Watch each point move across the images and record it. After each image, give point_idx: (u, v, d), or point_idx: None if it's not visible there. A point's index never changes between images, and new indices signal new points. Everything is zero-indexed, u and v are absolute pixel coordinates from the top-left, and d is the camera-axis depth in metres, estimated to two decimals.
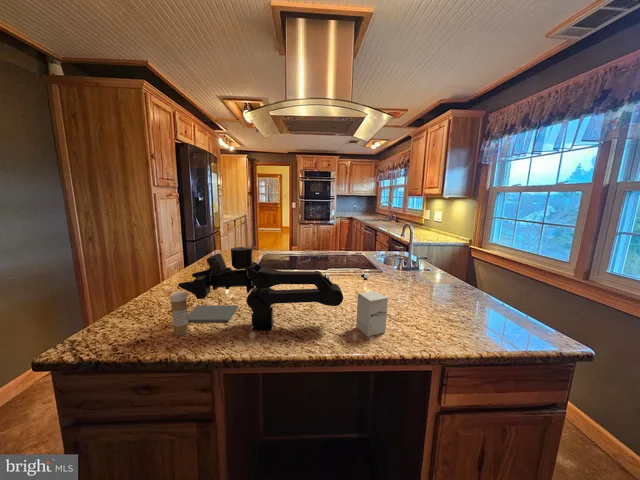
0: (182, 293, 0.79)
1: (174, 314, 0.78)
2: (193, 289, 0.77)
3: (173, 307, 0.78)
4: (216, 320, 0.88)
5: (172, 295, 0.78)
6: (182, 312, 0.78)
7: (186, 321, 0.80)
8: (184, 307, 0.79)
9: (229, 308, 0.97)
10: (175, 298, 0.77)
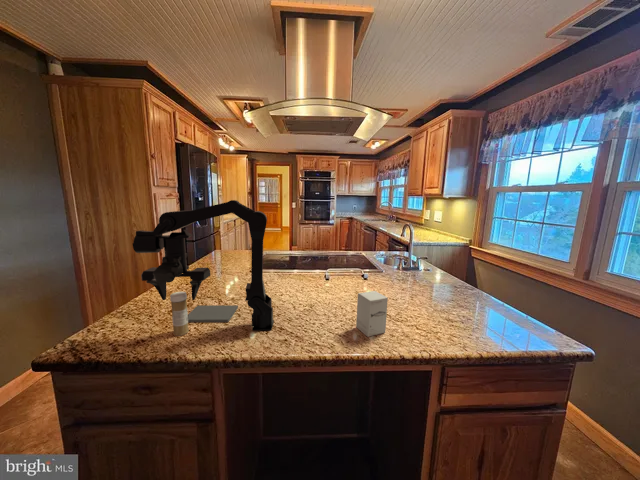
0: (182, 293, 0.79)
1: (174, 314, 0.78)
2: (198, 283, 0.80)
3: (173, 307, 0.78)
4: (216, 320, 0.88)
5: (172, 295, 0.78)
6: (182, 312, 0.78)
7: (186, 321, 0.80)
8: (184, 307, 0.79)
9: (229, 308, 0.97)
10: (175, 298, 0.77)
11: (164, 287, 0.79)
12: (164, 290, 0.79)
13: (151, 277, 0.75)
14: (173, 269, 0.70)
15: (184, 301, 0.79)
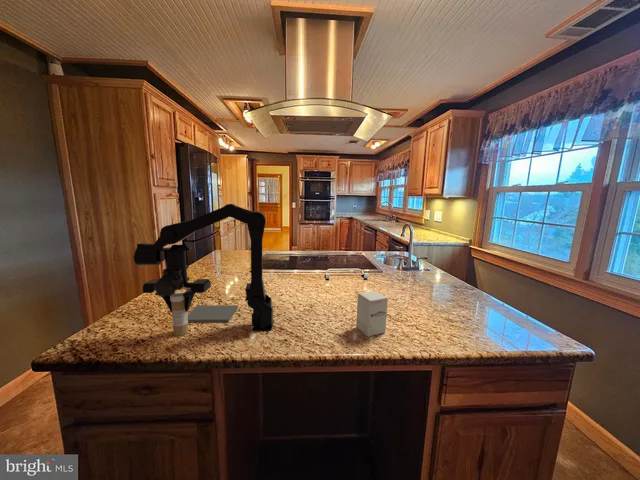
0: (182, 293, 0.79)
1: (174, 314, 0.78)
2: (192, 294, 0.80)
3: (173, 307, 0.78)
4: (216, 320, 0.88)
5: (172, 295, 0.78)
6: (182, 312, 0.78)
7: (186, 321, 0.80)
8: (184, 307, 0.79)
9: (229, 308, 0.97)
10: (175, 298, 0.77)
11: None
12: None
13: (152, 289, 0.75)
14: (174, 282, 0.71)
15: (184, 301, 0.79)
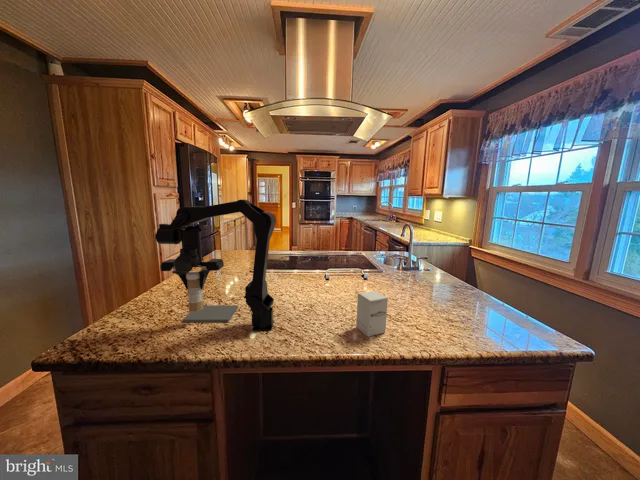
0: (197, 272, 0.85)
1: (190, 291, 0.83)
2: (206, 273, 0.86)
3: (189, 285, 0.83)
4: (216, 320, 0.88)
5: (188, 273, 0.83)
6: (197, 289, 0.84)
7: (201, 298, 0.86)
8: (199, 285, 0.84)
9: (229, 308, 0.97)
10: (191, 275, 0.82)
11: None
12: None
13: (170, 268, 0.80)
14: (191, 259, 0.76)
15: (199, 279, 0.84)
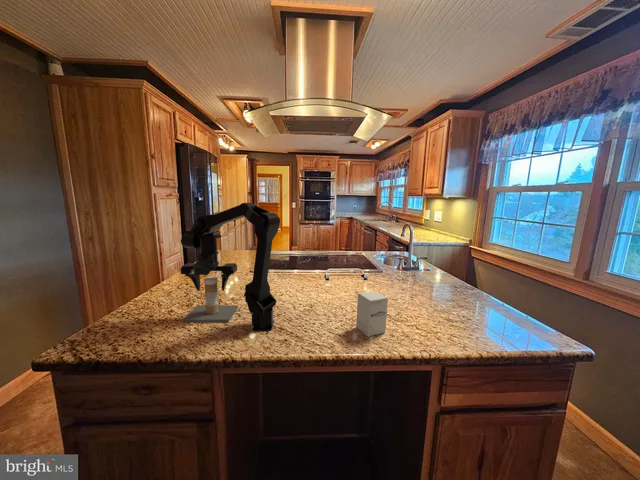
0: (214, 277, 0.92)
1: (207, 295, 0.91)
2: (227, 276, 0.93)
3: (207, 289, 0.91)
4: (216, 320, 0.88)
5: (206, 279, 0.91)
6: (214, 293, 0.91)
7: (217, 302, 0.93)
8: (216, 290, 0.92)
9: (229, 308, 0.97)
10: (208, 281, 0.90)
11: (198, 280, 0.93)
12: (198, 282, 0.93)
13: (189, 271, 0.88)
14: (209, 264, 0.84)
15: (216, 284, 0.92)
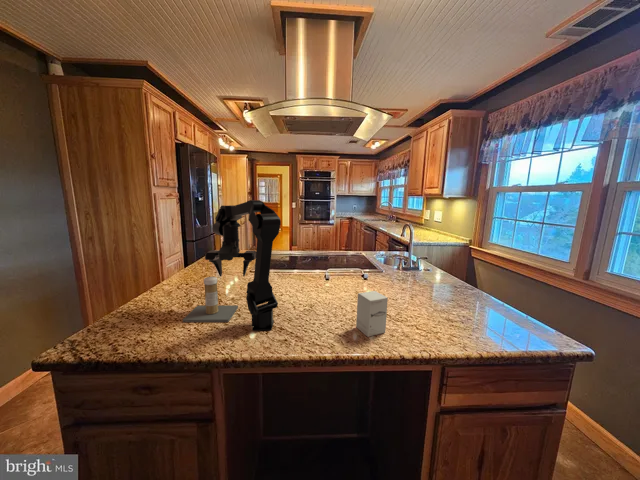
0: (213, 277, 0.92)
1: (207, 295, 0.91)
2: (247, 263, 1.00)
3: (206, 289, 0.91)
4: (216, 320, 0.88)
5: (205, 279, 0.91)
6: (213, 293, 0.91)
7: (217, 302, 0.93)
8: (215, 290, 0.92)
9: (229, 308, 0.97)
10: (208, 281, 0.90)
11: (220, 266, 0.99)
12: (220, 268, 0.99)
13: (213, 257, 0.95)
14: (233, 250, 0.90)
15: (215, 284, 0.92)
